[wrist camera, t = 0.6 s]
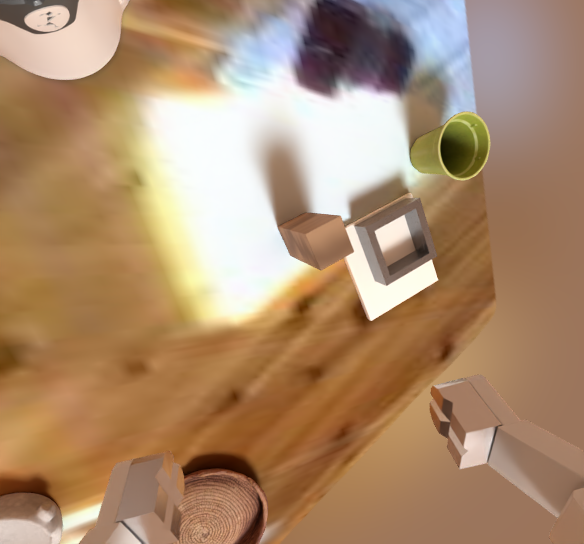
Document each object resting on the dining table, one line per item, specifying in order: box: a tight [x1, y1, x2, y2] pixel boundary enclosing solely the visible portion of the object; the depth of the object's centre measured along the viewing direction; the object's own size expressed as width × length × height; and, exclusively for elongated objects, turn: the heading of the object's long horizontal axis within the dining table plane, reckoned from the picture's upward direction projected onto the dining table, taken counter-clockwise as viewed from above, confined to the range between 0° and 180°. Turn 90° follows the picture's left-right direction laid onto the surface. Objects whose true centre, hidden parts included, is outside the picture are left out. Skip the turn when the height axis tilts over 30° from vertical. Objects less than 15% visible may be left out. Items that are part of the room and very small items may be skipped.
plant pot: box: [410, 112, 490, 180], centre depth 53 cm, size 9×9×9 cm
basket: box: [170, 469, 268, 544], centre depth 55 cm, size 22×20×5 cm
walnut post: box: [278, 212, 354, 270], centre depth 47 cm, size 5×5×12 cm
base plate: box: [344, 193, 438, 321], centre depth 58 cm, size 17×15×1 cm
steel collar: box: [354, 198, 437, 286], centre depth 55 cm, size 10×10×4 cm
